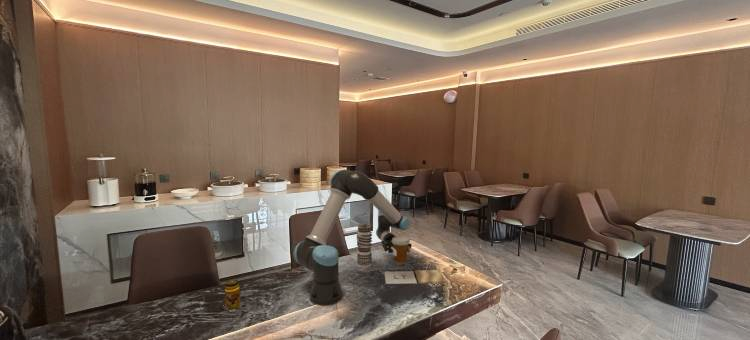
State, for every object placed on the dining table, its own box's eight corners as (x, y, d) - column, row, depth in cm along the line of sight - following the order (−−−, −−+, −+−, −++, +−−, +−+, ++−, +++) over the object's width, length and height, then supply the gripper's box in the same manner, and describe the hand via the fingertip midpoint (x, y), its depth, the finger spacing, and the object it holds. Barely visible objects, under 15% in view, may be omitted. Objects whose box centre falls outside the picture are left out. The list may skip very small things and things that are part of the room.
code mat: (386, 284, 162) (386, 283, 162) (384, 272, 176) (384, 271, 176) (417, 283, 162) (417, 282, 162) (412, 271, 176) (412, 271, 176)
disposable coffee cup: (388, 258, 171) (389, 237, 170) (405, 256, 174) (405, 235, 173) (395, 265, 162) (395, 242, 161) (412, 263, 165) (412, 240, 164)
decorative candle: (375, 263, 188) (375, 222, 185) (366, 269, 180) (366, 226, 177) (362, 260, 192) (362, 220, 190) (353, 265, 185) (353, 224, 182)
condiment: (231, 313, 135) (229, 286, 134) (218, 308, 139) (217, 282, 138) (245, 305, 142) (244, 280, 140) (233, 300, 146) (232, 275, 144)
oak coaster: (418, 283, 162) (418, 281, 162) (414, 271, 176) (414, 270, 176) (445, 282, 163) (445, 281, 163) (439, 271, 177) (439, 269, 176)
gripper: (405, 243, 188) (422, 257, 166) (372, 247, 182) (384, 261, 160) (405, 231, 187) (422, 243, 165) (372, 234, 181) (384, 247, 159)
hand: (403, 252), depth 163 cm, fingers closed on disposable coffee cup, 8 cm apart
